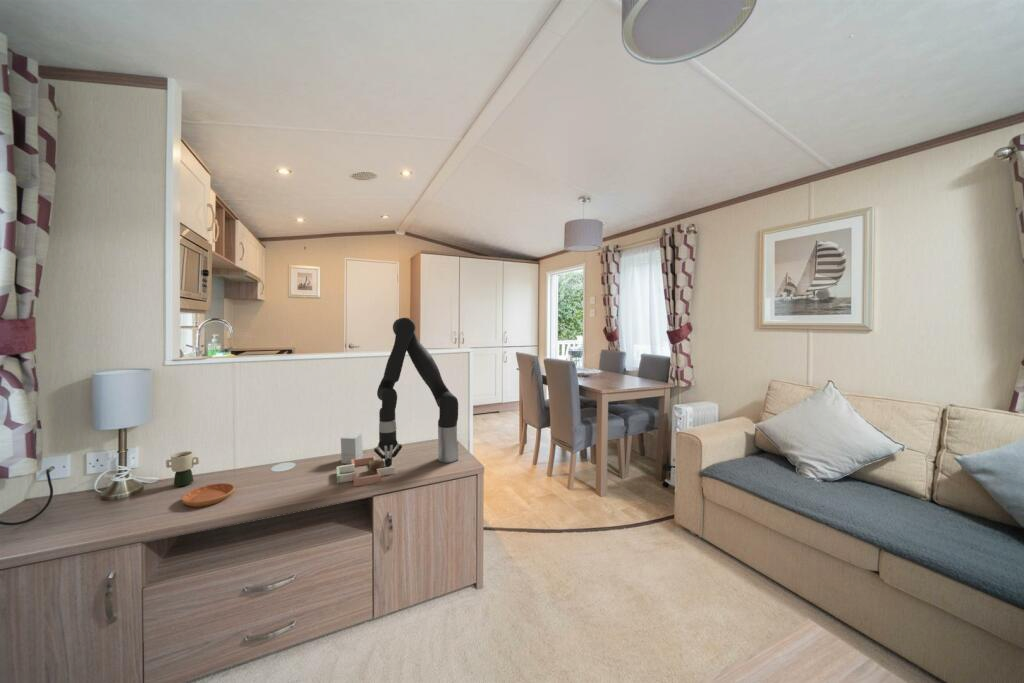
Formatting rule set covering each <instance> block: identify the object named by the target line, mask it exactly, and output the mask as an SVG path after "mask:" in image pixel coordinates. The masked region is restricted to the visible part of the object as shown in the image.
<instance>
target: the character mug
mask: <svg viewBox="0 0 1024 683" xmlns="http://www.w3.org/2000/svg"><path fill="white" fill-rule="evenodd" d="M170 458H171V459H166V460H165V468H168V469H169V468H171V471H172V472H174V480H173V486H174V487H184V486H186V485H189V484H192V482H194V475H193V472H192V469H193V468H194V465H198V464H200V457H199V456H194V451H192V450H191V451H189V450H188V451H187V450H186V451H181V452H177V453H173V454H171V456H170Z"/></svg>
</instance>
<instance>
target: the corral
mask: <svg viewBox="0 0 1024 683" xmlns="http://www.w3.org/2000/svg"><path fill="white" fill-rule="evenodd" d="M372 460H378V459H377V457H376V455H373V456H365V457H363V458H357V459H351V464H345V465H343V464H342V465H339V466H336V484H340V483H347V482H352V481H353V486H354V487H358V486H359V487H360V486H366V485H371V484H376V483H381V482H383V481H382V477H383V476H388V475H395V466H394V465H390V467H387V466H386V465H385V459H383V462H384V468H379V469H377V474H376V475H365V476H361V477H357V476H358V475H357V472H356V466H363V465H369V461H372Z"/></svg>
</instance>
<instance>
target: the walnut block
mask: <svg viewBox="0 0 1024 683" xmlns="http://www.w3.org/2000/svg"><path fill="white" fill-rule="evenodd" d="M383 460H384V459H382V458H380V459H377V460H372V461H369V464H368V472H369V476H371V475H377V469H379V468H385V467H384V462H383Z"/></svg>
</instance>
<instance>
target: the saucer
mask: <svg viewBox="0 0 1024 683" xmlns="http://www.w3.org/2000/svg"><path fill="white" fill-rule="evenodd" d="M234 491H235V486H234V484H231V483H228V482H227V483H221V482H220V483H213V484H206V485H203V486H199V487H196V488H194V489H191V490H189V491H187V492H186V493H185V494H183V495H182V497H181V502H182V503H183V504H184V505H186V506H189V507H192V508H199V507H200V508H201V507H202V508H203V507H207V506H211V505H215V504H218V503H222V501H224V500H227V498H229V497H230V496H231V495H232V494H233V493H234Z"/></svg>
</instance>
